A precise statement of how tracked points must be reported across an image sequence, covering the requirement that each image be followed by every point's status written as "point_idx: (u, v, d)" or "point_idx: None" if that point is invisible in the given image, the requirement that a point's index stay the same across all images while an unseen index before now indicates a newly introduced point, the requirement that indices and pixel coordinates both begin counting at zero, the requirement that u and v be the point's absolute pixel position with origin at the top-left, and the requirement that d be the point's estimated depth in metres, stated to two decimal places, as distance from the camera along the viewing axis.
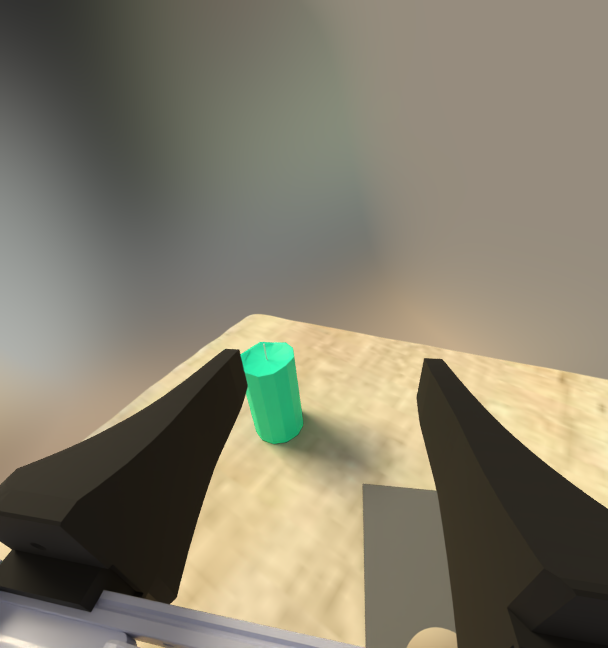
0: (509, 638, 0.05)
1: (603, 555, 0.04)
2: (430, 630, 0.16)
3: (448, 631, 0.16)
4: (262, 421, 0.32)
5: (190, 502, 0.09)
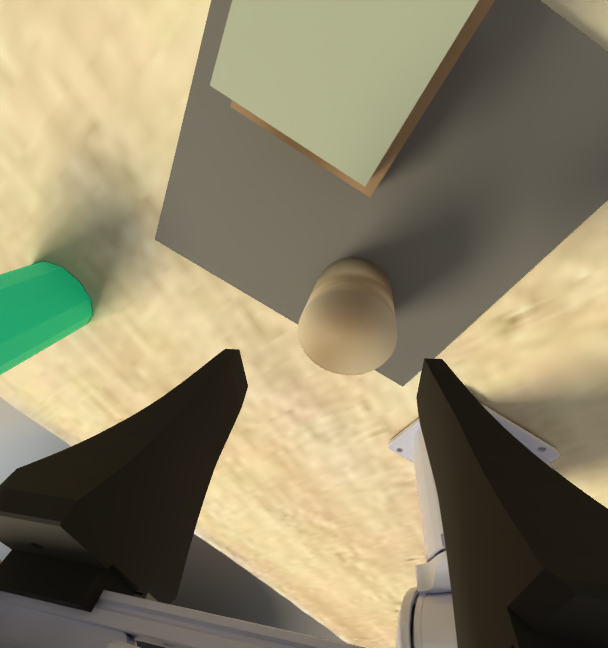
0: (509, 638, 0.05)
1: (603, 555, 0.04)
2: (301, 321, 0.14)
3: (309, 306, 0.14)
4: (51, 341, 0.22)
5: (190, 502, 0.09)
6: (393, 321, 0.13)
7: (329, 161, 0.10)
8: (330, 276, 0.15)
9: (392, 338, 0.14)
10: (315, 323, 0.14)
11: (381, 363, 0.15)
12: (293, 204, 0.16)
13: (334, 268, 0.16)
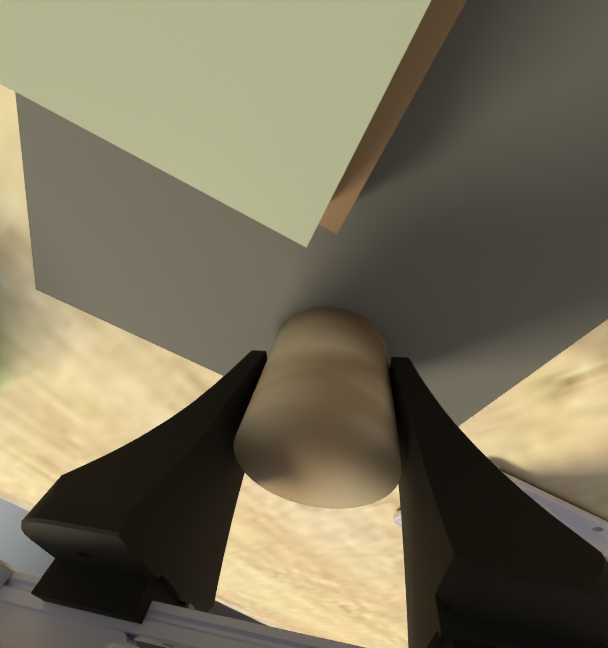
0: (436, 623, 0.05)
1: (516, 542, 0.04)
2: (237, 444, 0.08)
3: (245, 427, 0.08)
4: None
5: (225, 507, 0.09)
6: (393, 450, 0.07)
7: (205, 188, 0.04)
8: (286, 351, 0.10)
9: (393, 471, 0.08)
10: (260, 448, 0.08)
11: (377, 499, 0.09)
12: (222, 233, 0.10)
13: (295, 331, 0.10)
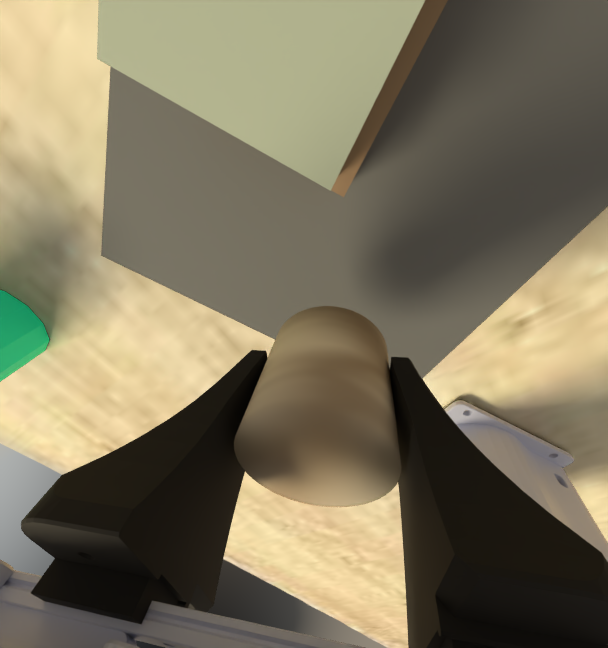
0: (436, 623, 0.05)
1: (516, 542, 0.04)
2: (237, 443, 0.08)
3: (245, 425, 0.08)
4: (1, 376, 0.20)
5: (225, 507, 0.09)
6: (393, 448, 0.07)
7: (278, 158, 0.07)
8: (285, 350, 0.10)
9: (393, 470, 0.08)
10: (261, 446, 0.08)
11: (377, 497, 0.09)
12: (256, 205, 0.14)
13: (295, 330, 0.10)
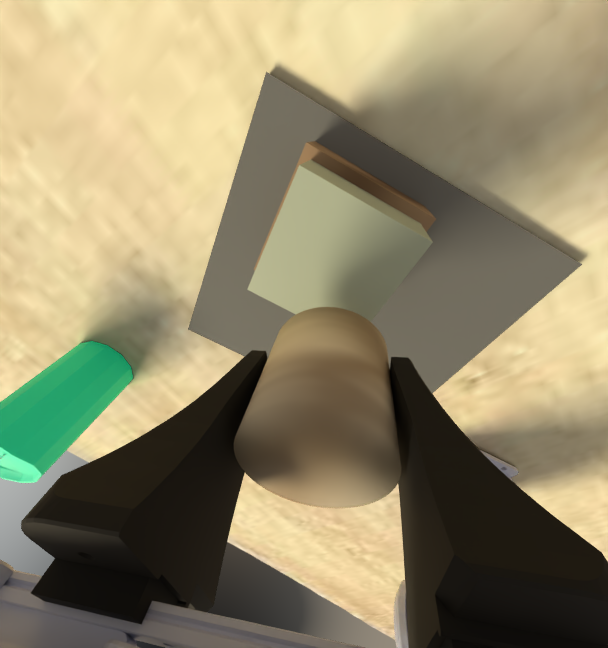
0: (435, 623, 0.05)
1: (515, 542, 0.04)
2: (237, 444, 0.08)
3: (245, 426, 0.08)
4: (105, 407, 0.27)
5: (225, 507, 0.09)
6: (393, 450, 0.07)
7: None
8: (285, 351, 0.10)
9: (393, 471, 0.08)
10: (260, 448, 0.08)
11: (377, 498, 0.09)
12: None
13: (295, 331, 0.10)
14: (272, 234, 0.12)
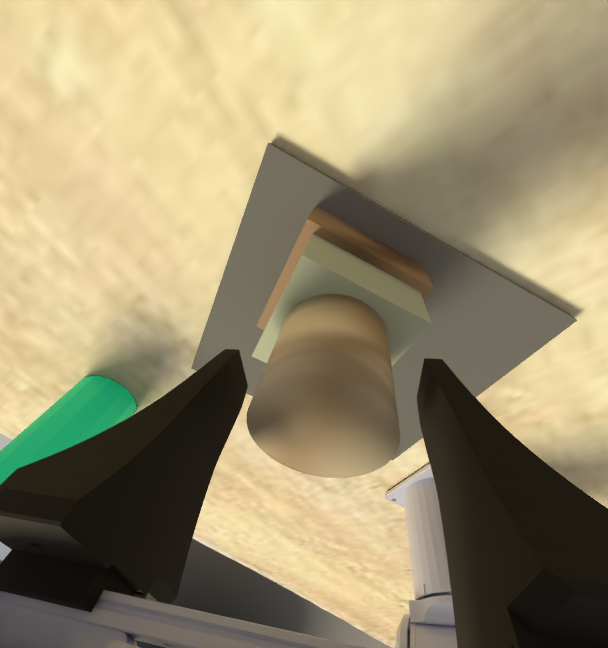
0: (509, 638, 0.05)
1: (603, 555, 0.04)
2: (250, 415, 0.09)
3: (258, 398, 0.09)
4: None
5: (190, 502, 0.09)
6: (393, 417, 0.08)
7: None
8: (293, 332, 0.10)
9: (393, 438, 0.09)
10: (271, 419, 0.09)
11: (378, 466, 0.10)
12: None
13: (301, 315, 0.11)
14: (276, 311, 0.13)
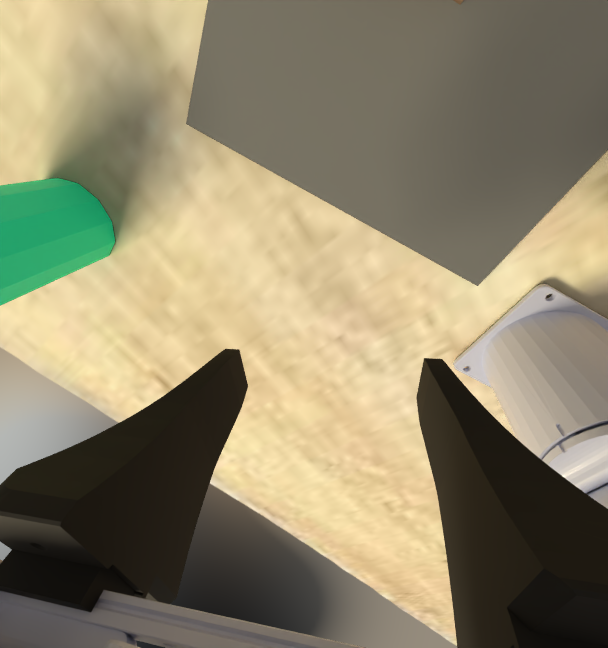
0: (509, 638, 0.05)
1: (603, 555, 0.04)
2: None
3: None
4: (74, 265, 0.20)
5: (190, 502, 0.09)
6: None
7: None
8: None
9: None
10: None
11: None
12: (358, 43, 0.14)
13: None
14: None
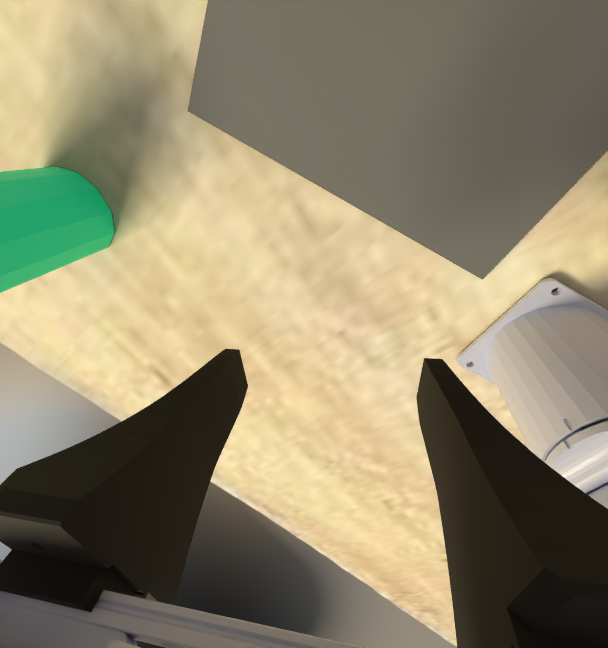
0: (509, 638, 0.05)
1: (603, 555, 0.04)
2: None
3: None
4: (73, 255, 0.19)
5: (190, 502, 0.09)
6: None
7: None
8: None
9: None
10: None
11: None
12: (364, 27, 0.13)
13: None
14: None
